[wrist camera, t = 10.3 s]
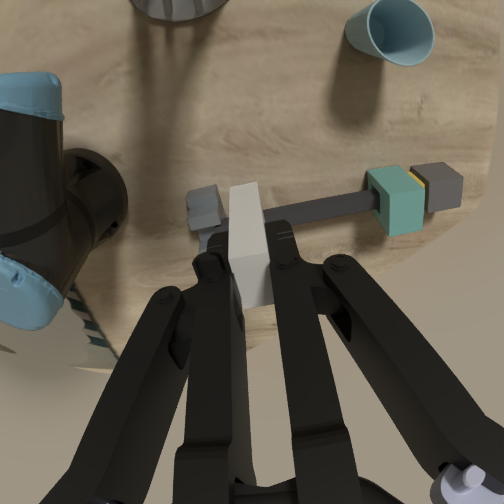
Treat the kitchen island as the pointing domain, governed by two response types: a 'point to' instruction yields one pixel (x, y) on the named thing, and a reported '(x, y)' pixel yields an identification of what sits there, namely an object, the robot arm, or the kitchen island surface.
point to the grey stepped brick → (204, 213)
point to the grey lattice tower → (177, 8)
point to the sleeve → (397, 200)
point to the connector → (439, 186)
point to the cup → (392, 32)
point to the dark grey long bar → (321, 208)
